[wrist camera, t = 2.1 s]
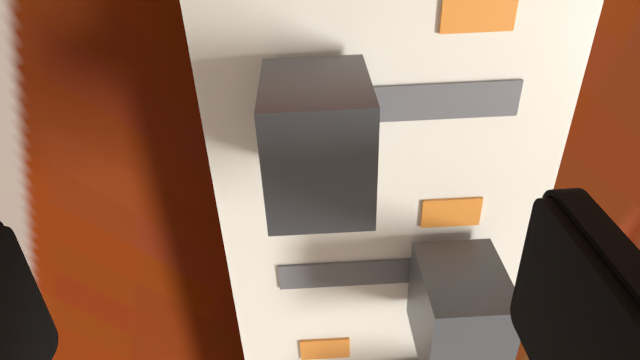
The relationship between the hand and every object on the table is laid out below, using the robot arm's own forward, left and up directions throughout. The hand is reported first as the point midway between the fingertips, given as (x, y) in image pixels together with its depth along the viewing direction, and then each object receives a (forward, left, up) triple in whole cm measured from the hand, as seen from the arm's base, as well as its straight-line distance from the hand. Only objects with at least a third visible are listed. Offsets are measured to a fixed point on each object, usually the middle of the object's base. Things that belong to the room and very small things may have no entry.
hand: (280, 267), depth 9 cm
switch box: (+5, +3, -8) cm, 10 cm away
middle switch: (+5, +5, -5) cm, 8 cm away
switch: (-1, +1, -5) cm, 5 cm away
